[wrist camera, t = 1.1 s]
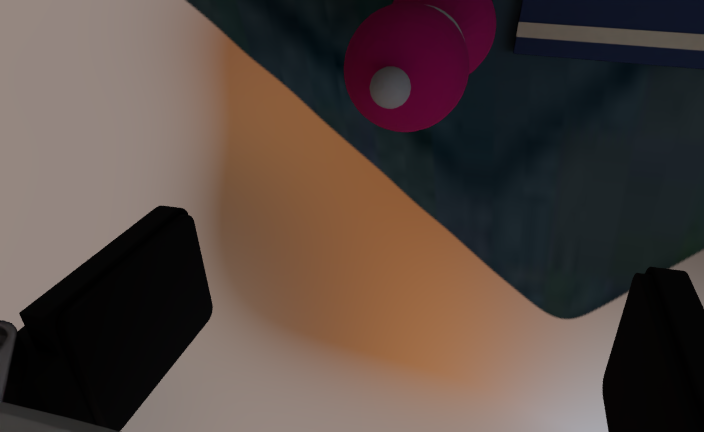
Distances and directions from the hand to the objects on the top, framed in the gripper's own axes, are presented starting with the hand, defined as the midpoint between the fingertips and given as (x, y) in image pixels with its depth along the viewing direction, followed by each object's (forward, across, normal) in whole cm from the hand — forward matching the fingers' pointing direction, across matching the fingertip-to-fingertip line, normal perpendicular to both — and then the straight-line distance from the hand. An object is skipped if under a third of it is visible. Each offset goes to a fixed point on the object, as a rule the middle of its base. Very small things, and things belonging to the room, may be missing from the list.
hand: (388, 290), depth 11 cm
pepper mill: (+32, +3, -1) cm, 32 cm away
